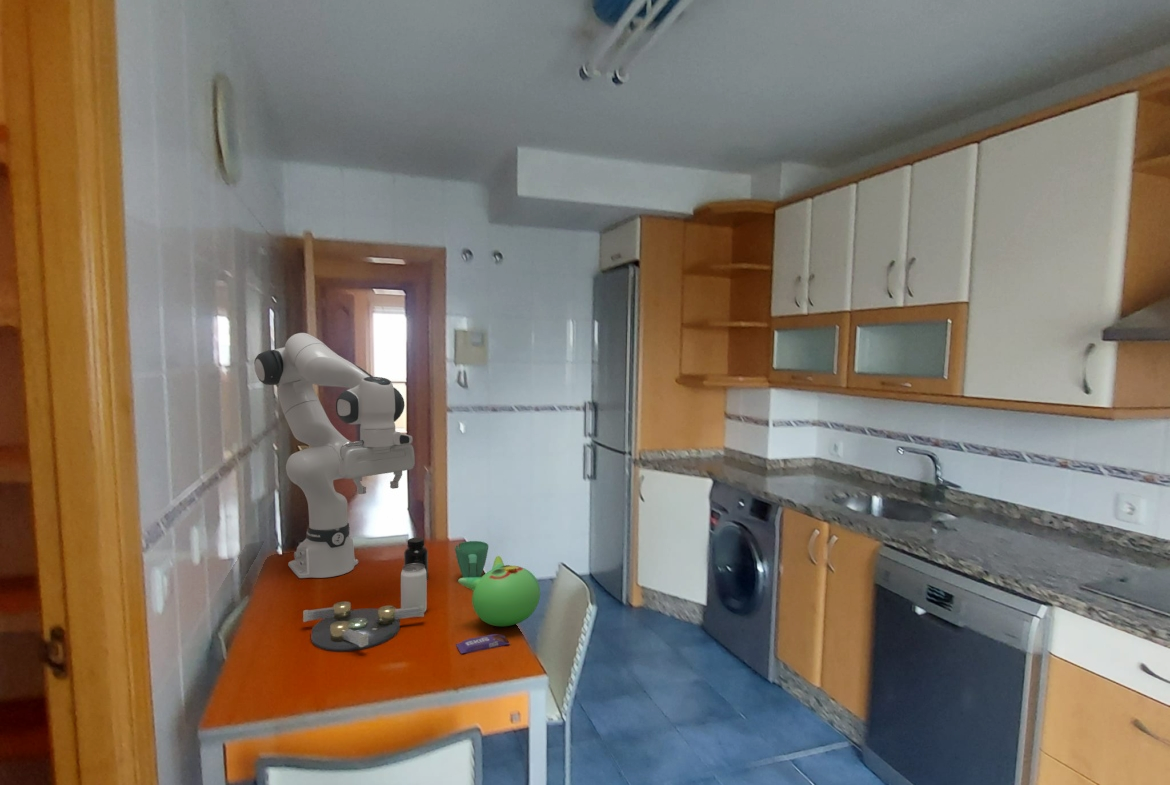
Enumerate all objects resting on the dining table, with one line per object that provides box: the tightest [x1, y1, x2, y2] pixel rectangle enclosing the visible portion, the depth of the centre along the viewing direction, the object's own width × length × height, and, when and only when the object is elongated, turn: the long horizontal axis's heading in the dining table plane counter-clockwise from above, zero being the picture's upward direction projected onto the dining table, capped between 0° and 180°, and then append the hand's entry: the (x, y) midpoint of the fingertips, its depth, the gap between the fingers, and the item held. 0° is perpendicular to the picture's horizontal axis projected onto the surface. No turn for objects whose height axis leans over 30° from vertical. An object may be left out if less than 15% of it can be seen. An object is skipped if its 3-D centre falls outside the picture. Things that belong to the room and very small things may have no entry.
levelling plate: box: [310, 608, 401, 653], centre depth 149 cm, size 20×20×3 cm
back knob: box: [302, 600, 352, 623], centre depth 152 cm, size 11×4×3 cm, turn 112°
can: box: [400, 563, 428, 613], centre depth 161 cm, size 6×6×12 cm
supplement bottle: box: [403, 537, 429, 579], centre depth 184 cm, size 7×7×12 cm
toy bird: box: [457, 555, 541, 627], centre depth 155 cm, size 18×17×15 cm
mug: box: [454, 540, 489, 578], centre depth 183 cm, size 15×10×10 cm
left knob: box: [377, 605, 425, 624], centre depth 152 cm, size 11×4×3 cm, turn 109°
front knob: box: [330, 621, 368, 647], centre depth 140 cm, size 11×4×3 cm, turn 58°
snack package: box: [455, 633, 511, 654], centre depth 143 cm, size 12×2×5 cm
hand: (378, 490), depth 163 cm, fingers open, 8 cm apart
